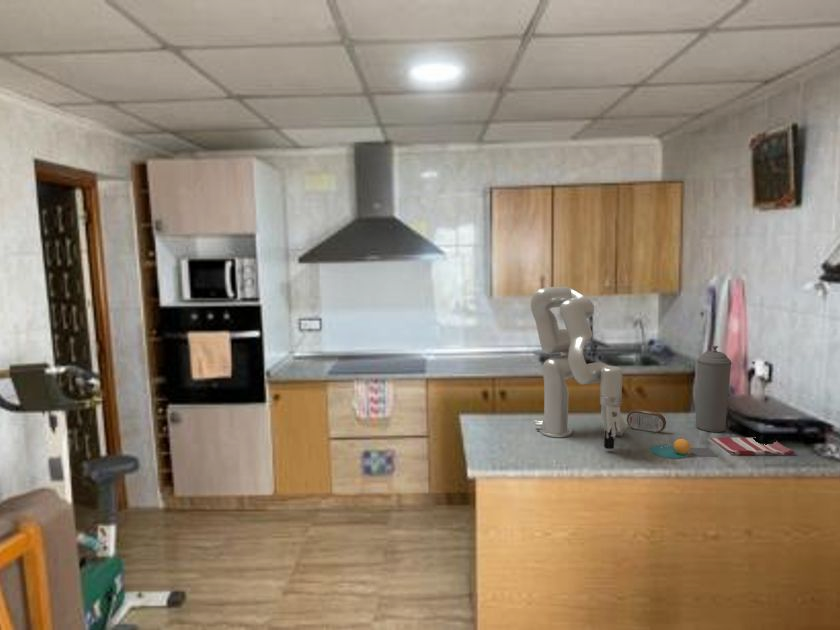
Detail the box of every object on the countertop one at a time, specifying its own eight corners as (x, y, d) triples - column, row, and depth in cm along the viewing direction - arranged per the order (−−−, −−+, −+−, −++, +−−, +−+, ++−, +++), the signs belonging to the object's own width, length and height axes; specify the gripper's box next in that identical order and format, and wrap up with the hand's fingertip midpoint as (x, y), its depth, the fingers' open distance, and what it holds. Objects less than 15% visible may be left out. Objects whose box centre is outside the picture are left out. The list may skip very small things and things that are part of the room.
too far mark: (695, 456, 201) (695, 455, 201) (686, 448, 209) (686, 447, 209) (718, 456, 201) (718, 455, 201) (708, 448, 209) (708, 447, 209)
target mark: (648, 455, 203) (648, 454, 203) (651, 443, 214) (651, 443, 214) (688, 460, 197) (688, 460, 197) (688, 448, 209) (688, 448, 209)
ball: (696, 448, 201) (686, 460, 202) (687, 440, 206) (676, 451, 207) (687, 441, 199) (676, 452, 200) (678, 433, 205) (667, 444, 206)
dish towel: (795, 457, 201) (796, 450, 201) (730, 457, 201) (731, 450, 201) (767, 441, 218) (767, 434, 218) (707, 441, 218) (707, 434, 218)
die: (622, 441, 220) (633, 419, 222) (603, 429, 221) (613, 408, 223) (615, 441, 228) (625, 420, 230) (596, 430, 229) (607, 410, 231)
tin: (665, 432, 227) (666, 412, 226) (664, 435, 224) (665, 414, 223) (627, 426, 235) (628, 407, 234) (625, 428, 232) (626, 409, 231)
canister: (694, 431, 228) (698, 347, 223) (692, 422, 239) (696, 342, 235) (729, 435, 223) (734, 349, 219) (725, 425, 235) (730, 344, 230)
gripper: (627, 405, 197) (625, 455, 199) (614, 394, 212) (613, 440, 214) (606, 405, 197) (604, 455, 199) (594, 394, 212) (593, 440, 214)
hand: (609, 447), depth 207 cm, fingers closed
